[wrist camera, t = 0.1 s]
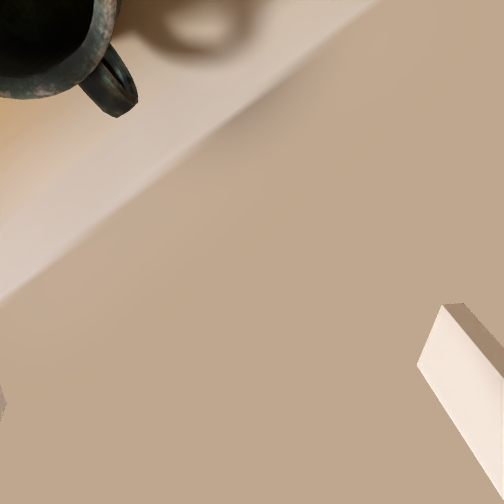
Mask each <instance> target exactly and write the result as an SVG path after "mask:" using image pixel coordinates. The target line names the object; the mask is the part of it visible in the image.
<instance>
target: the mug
mask: <svg viewBox="0 0 504 504" xmlns="http://www.w3.org/2000/svg"><path fill="white" fill-rule="evenodd" d="M121 2H122V0H0V97H3V98H12V99H22V100H23V99H40V98H44V97H49V96H53V95H57V94H59V93H62V92H64V91H66V90H69V89H71V88H72V87H74V86H75V85H77V84H78V85H79V86H80V87H81V88H82V90H83V91H84V92H85V93H86V94H87V95H88V96H89V97H90V98H91V99H92V100H93V101H94V102H95V103H96V104H97V105H98V106H99V107H100V109H101V110H102V111H103V112H105V113H107V114H109V115H110V116H112V117H116V118H118V117H119V116H121V115H123V114H125V113H126V112H128V111H130V110H131V109H132V108H133V107H134V106H135V105H136V104H137V103H138V94H137V89H136V86H135V84H134V81H133V78H132V77H131V75H130V73H129V71H128V69H127V67H126V66H125V64H124V63H123V61H122V59H121V58H120V57H119V55H118V54H117V52H116V51H115V49H114V48H113V47H112V45H111V44H110V40H111V36H112V32H113V29H114V25H115V21H116V19H117V17H118V14H119V11H120V7H121Z"/></svg>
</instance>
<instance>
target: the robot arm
mask: <svg viewBox="0 0 504 504" xmlns="http://www.w3.org/2000/svg"><path fill="white" fill-rule="evenodd" d="M417 367H418V368H419V370H420V371H421V373H422V374H423V376H424V377H425V379H426V380H427V382H428V384H429V385H430V387H431V388H432V390H433V391H434V393H435V394H436V396H437V397H438V399H439V401H440V402H441V404H442V405H443V407H444V408H445V410H446V411H447V413H448V415H449V416H450V418H451V419H452V421H453V422H454V424H455V425H456V427H457V429H458V430H459V432H460V433H461V435H462V436H463V438H464V440H465V441H466V443H467V444H468V446H469V447H470V449H471V450H472V452H473V454H474V455H475V457H476V458H477V460H478V461H479V463H480V464H481V466H482V467H483V469H484V471H485V472H486V474H487V475H488V477H489V478H490V480H491V481H492V483H493V485H494V486H495V488H496V489H497V491H498V492H499V494H500V495H501V497H502V499H503V500H504V348H503V346H501V344H500V343H499V342H498V341H497V340H496V339H495V338H494V337H493V335H492V334H491V333H490V332H489V331H488V330H487V329H486V328H485V327H484V326H483V324H482V323H481V322H480V321H479V320H478V319H477V318H476V316H475V315H474V314H473V313H472V312H471V311H470V310H469V309H468V308H467V306H466V305H465V304H464V303H460V304H445V305H442V306H441V308H440V311H439V313H438V316H437V318H436V320H435V323H434V325H433V328H432V330H431V332H430V335H429V337H428V340H427V342H426V345H425V347H424V349H423V352H422V354H421V356H420V359H419V361H418V364H417ZM5 406H6V401H5V398H4V395H3V393H2V390H1V387H0V420H1V418H2V415H3V411H4V409H5Z"/></svg>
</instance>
